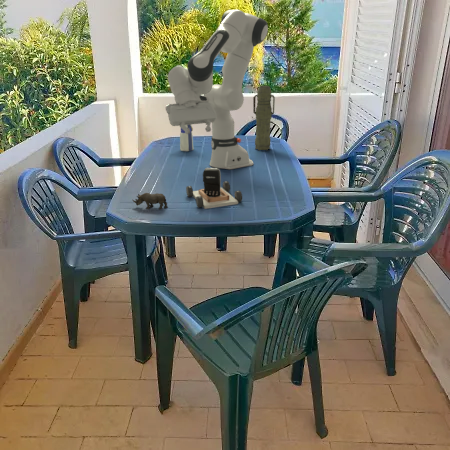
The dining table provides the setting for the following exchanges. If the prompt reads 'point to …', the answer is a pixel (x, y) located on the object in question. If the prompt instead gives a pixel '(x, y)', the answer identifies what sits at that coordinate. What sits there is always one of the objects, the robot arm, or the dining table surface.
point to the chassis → (212, 202)
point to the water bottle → (186, 139)
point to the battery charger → (212, 182)
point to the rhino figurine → (151, 200)
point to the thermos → (263, 117)
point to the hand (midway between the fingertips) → (198, 132)
